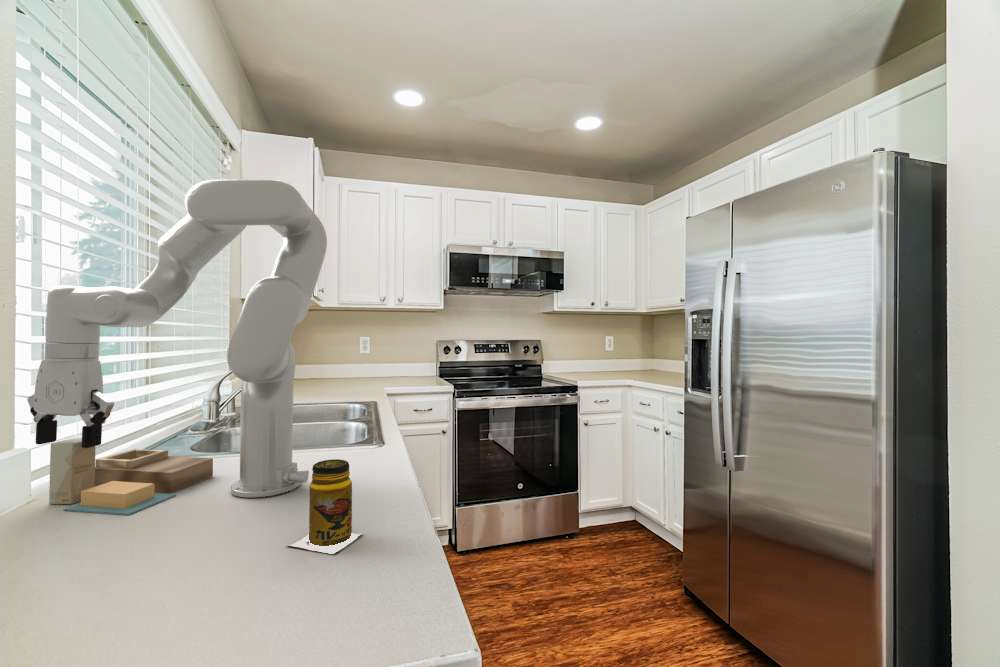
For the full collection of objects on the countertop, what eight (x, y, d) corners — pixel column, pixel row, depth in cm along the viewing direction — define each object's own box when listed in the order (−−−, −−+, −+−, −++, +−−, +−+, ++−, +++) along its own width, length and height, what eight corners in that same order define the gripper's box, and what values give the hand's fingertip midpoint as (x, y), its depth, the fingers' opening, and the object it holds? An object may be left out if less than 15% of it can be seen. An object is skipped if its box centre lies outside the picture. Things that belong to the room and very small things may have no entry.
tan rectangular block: (125, 494, 84) (125, 508, 84) (154, 483, 90) (154, 496, 90) (80, 491, 85) (80, 505, 85) (112, 481, 91) (112, 494, 91)
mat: (176, 495, 92) (176, 494, 92) (128, 515, 82) (128, 513, 82) (116, 491, 93) (116, 490, 93) (63, 510, 83) (63, 508, 83)
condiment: (334, 556, 68) (335, 471, 68) (285, 547, 70) (286, 466, 70) (364, 535, 75) (365, 458, 75) (318, 528, 77) (319, 454, 77)
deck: (212, 476, 104) (213, 451, 104) (171, 493, 93) (171, 465, 93) (139, 472, 106) (139, 447, 106) (90, 488, 95) (90, 460, 95)
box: (71, 504, 86) (71, 443, 86) (47, 504, 86) (48, 443, 86) (96, 495, 92) (96, 437, 92) (74, 494, 92) (74, 436, 92)
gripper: (10, 351, 86) (5, 445, 86) (93, 355, 84) (89, 452, 84) (54, 350, 94) (50, 437, 94) (131, 354, 91) (128, 443, 91)
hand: (68, 444), depth 89 cm, fingers open, 9 cm apart
